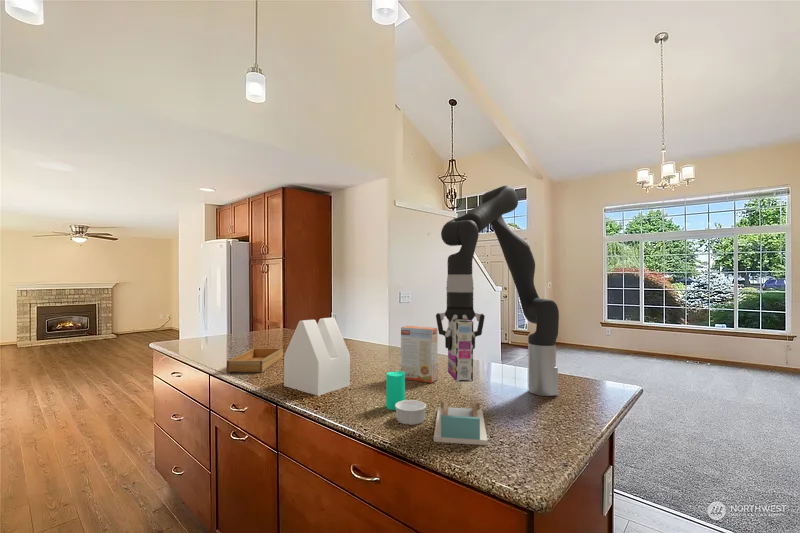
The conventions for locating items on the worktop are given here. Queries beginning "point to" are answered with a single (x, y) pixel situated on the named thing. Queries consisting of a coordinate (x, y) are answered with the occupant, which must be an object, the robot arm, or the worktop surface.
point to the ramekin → (410, 412)
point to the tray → (255, 360)
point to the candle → (395, 388)
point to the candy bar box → (461, 351)
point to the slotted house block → (317, 358)
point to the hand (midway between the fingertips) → (460, 349)
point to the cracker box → (419, 353)
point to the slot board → (460, 425)
